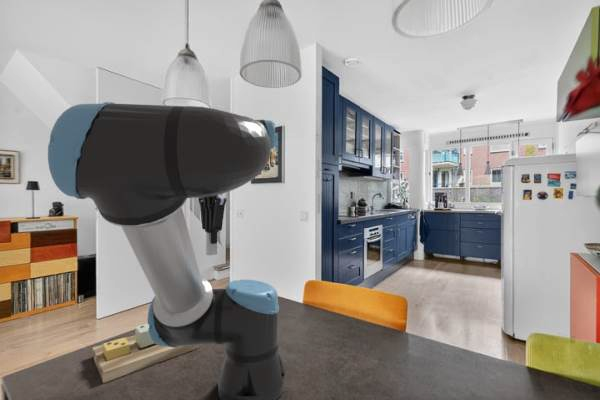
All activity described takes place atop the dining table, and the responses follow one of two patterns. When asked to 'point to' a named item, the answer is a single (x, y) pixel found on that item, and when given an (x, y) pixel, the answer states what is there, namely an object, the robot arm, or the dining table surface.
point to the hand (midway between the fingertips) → (211, 254)
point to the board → (135, 358)
